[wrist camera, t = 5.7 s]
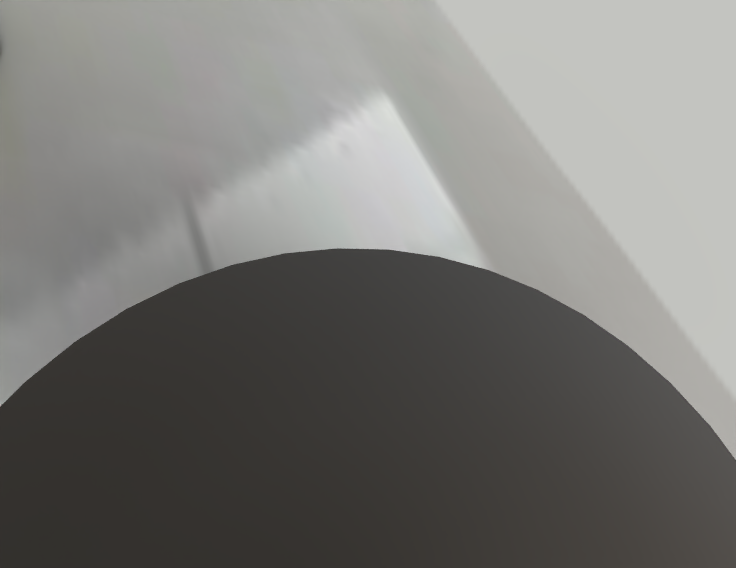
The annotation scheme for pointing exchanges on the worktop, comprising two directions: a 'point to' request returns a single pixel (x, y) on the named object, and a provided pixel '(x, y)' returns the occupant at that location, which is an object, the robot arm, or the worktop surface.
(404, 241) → the worktop surface
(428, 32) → the worktop surface
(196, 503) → the brown wooden canister
